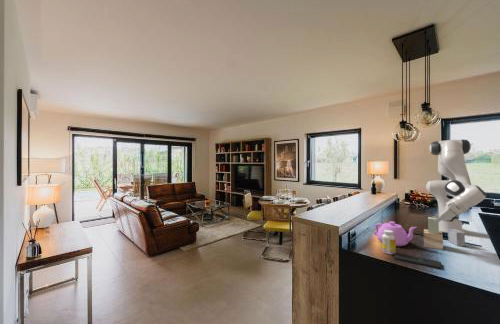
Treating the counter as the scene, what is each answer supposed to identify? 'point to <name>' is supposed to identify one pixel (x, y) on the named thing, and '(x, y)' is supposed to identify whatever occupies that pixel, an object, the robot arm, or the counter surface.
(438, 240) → the tower top block
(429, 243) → the tower base block
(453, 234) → the medicine box
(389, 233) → the supplement bottle
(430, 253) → the counter surface
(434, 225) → the sage block
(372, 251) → the counter surface
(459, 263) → the counter surface
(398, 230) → the teapot
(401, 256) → the smart home device
